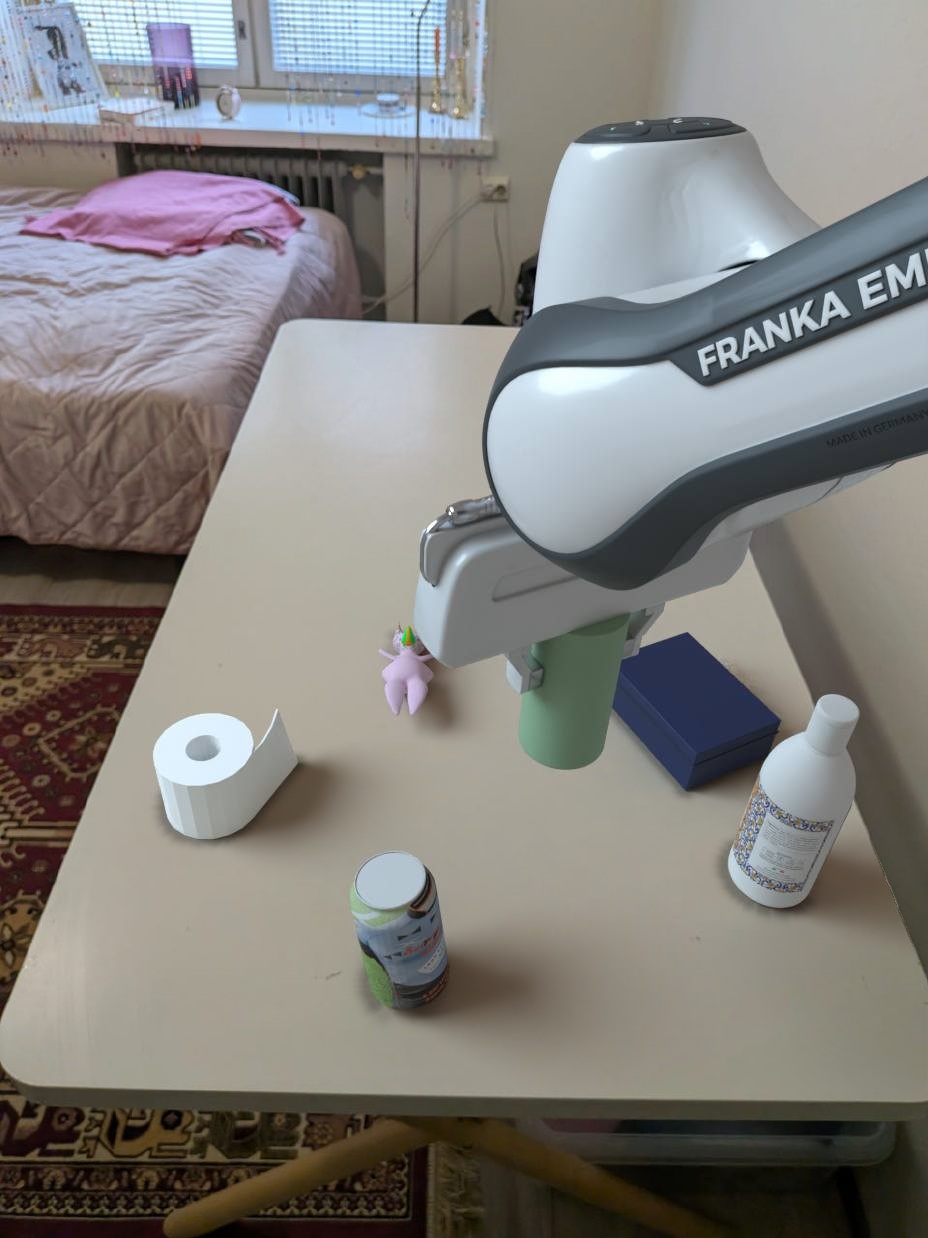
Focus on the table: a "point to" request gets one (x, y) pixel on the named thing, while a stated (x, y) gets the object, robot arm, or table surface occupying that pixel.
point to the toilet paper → (219, 772)
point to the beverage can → (400, 930)
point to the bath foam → (797, 808)
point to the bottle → (573, 695)
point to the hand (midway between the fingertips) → (573, 668)
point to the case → (692, 711)
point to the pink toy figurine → (406, 671)
